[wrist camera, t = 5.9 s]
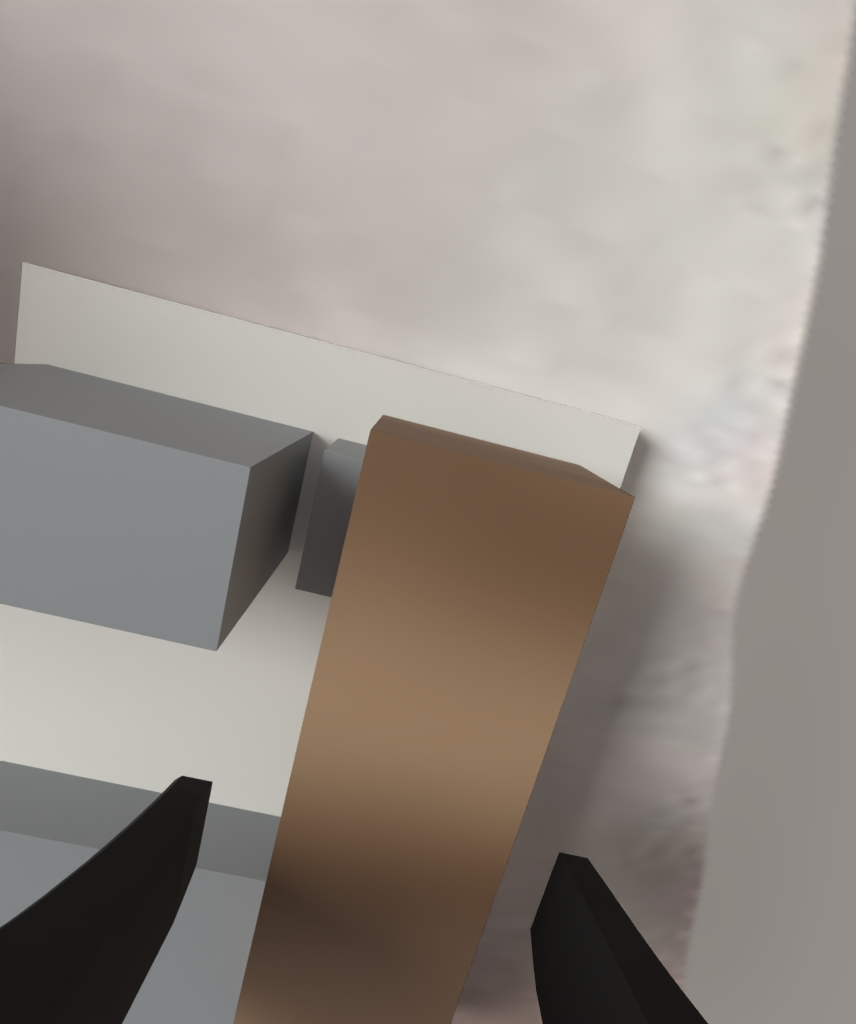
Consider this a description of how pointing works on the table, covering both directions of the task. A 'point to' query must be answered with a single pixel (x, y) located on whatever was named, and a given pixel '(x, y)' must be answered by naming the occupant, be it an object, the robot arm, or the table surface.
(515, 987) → the table surface
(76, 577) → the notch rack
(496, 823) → the walnut bar
